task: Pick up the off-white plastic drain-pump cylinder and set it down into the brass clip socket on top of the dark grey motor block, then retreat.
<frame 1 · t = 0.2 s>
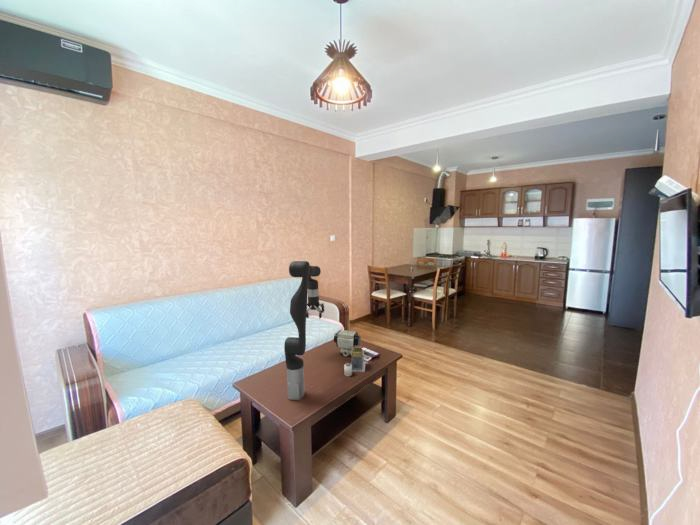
hand: (314, 318, 203), 29 cm above the table, fingers open, 8 cm apart
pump: (348, 374, 185), on the table
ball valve: (347, 354, 211), on the table
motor: (357, 366, 194), on the table
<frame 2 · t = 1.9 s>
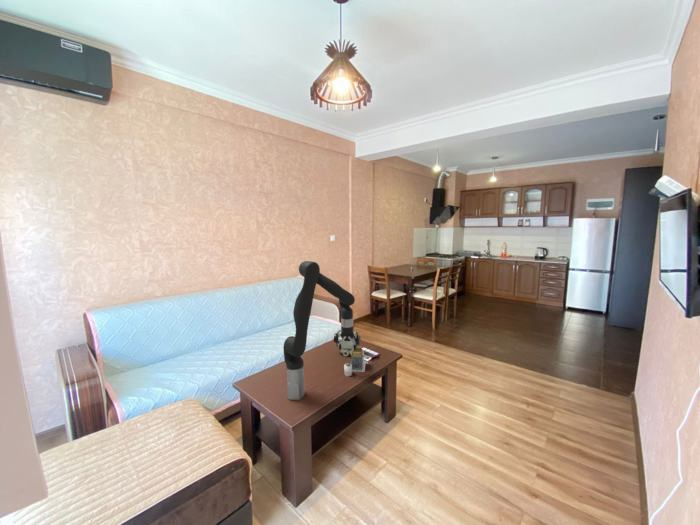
hand: (347, 349, 183), 16 cm above the table, fingers open, 8 cm apart
nothing on the table moved.
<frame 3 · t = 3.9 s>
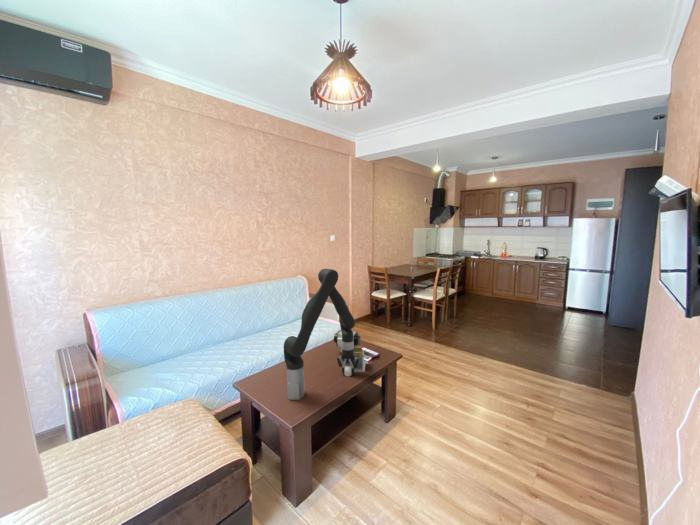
hand: (348, 372, 185), 1 cm above the table, fingers closed on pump, 4 cm apart
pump: (348, 374, 185), on the table, touching gripper
everything else where it was.
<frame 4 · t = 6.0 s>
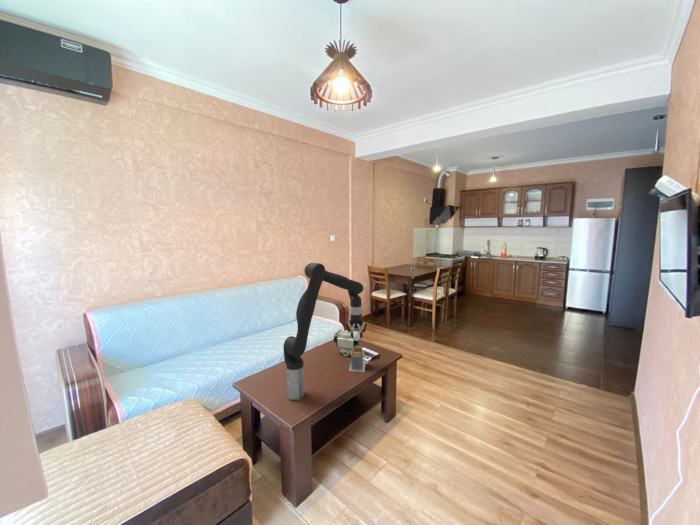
hand: (356, 337, 190), 20 cm above the table, fingers closed on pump, 4 cm apart
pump: (356, 339, 190), point 20 cm above the table, touching gripper
everything else where it was.
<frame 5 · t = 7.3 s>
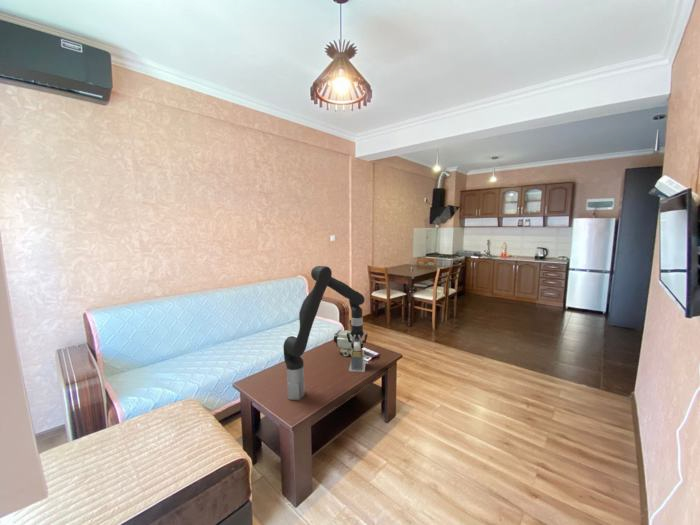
hand: (357, 348, 192), 13 cm above the table, fingers closed on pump, 4 cm apart
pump: (357, 349, 192), point 12 cm above the table, touching gripper
everything else where it was.
when the fingers open (11 cm above the table, at t = 8.1 s): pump stays where it is, resting on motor.
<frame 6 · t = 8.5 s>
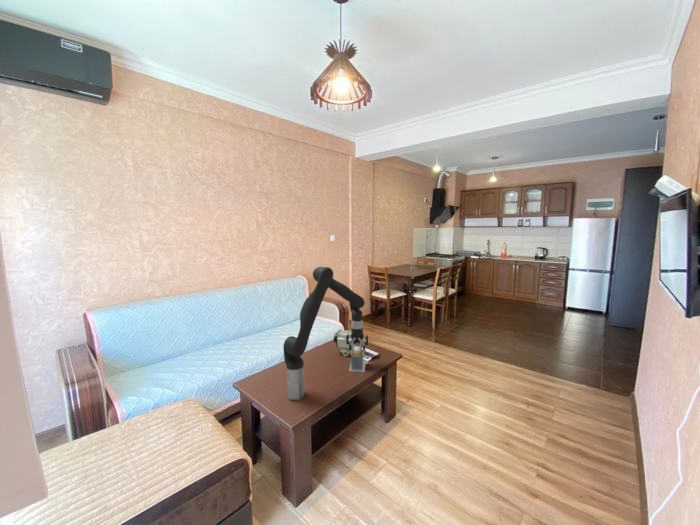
hand: (357, 350, 192), 12 cm above the table, fingers open, 8 cm apart
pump: (357, 354, 192), point 9 cm above the table, touching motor
everything else where it was.
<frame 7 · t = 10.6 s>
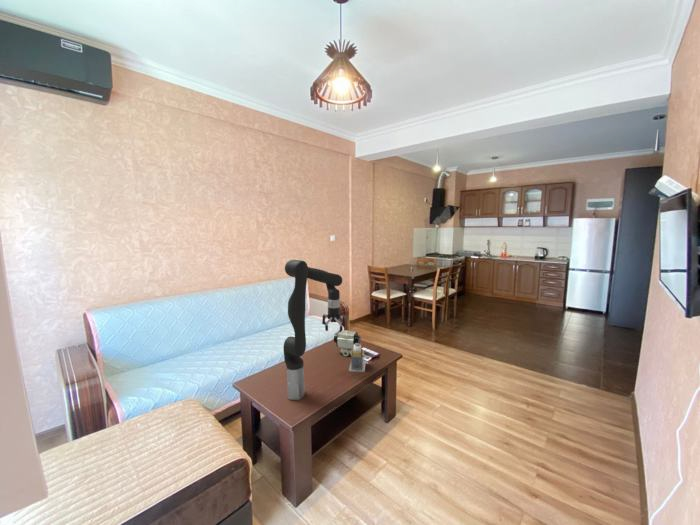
hand: (333, 331, 185), 27 cm above the table, fingers open, 8 cm apart
nothing on the table moved.
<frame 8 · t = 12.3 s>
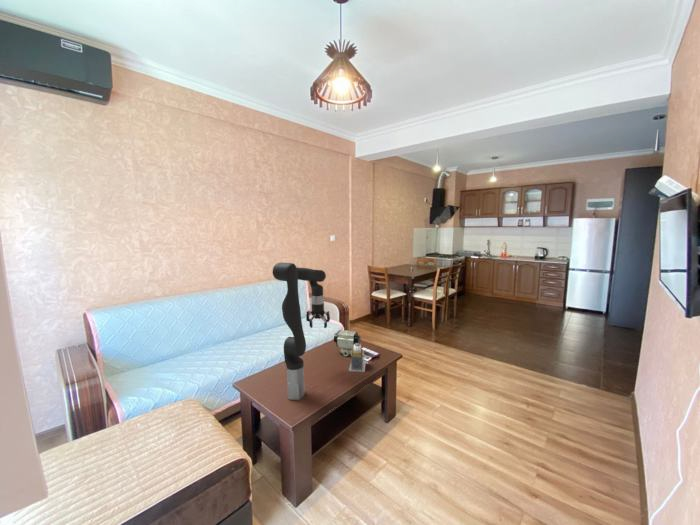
hand: (318, 327, 182), 30 cm above the table, fingers open, 8 cm apart
nothing on the table moved.
at the end: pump 0.0 cm off-centre on the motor, point 9.0 cm above the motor's base; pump tilted 0°; the gripper is holding nothing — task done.
